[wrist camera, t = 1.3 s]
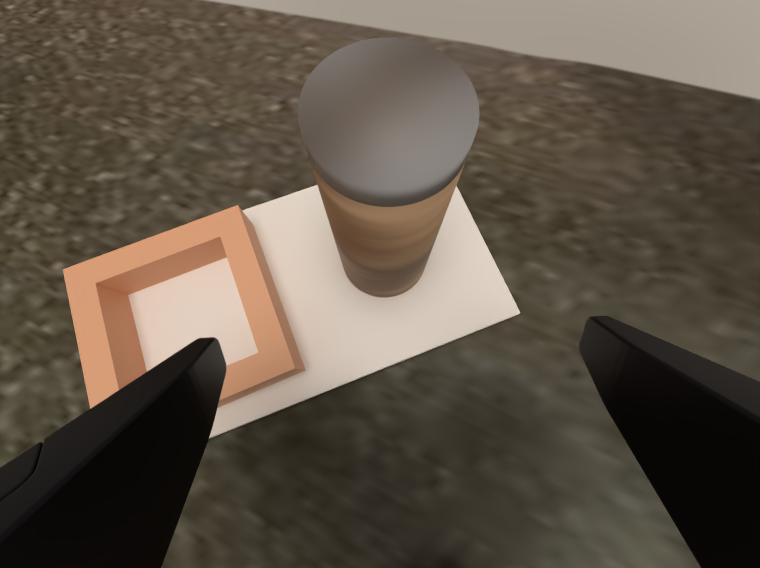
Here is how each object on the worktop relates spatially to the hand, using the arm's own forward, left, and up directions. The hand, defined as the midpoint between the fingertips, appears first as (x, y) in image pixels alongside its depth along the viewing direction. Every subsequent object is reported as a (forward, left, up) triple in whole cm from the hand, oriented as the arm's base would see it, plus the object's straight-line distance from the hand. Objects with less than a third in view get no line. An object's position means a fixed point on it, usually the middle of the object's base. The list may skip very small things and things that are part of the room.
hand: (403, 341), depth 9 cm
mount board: (+7, 0, -13) cm, 14 cm away
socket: (+10, +5, -11) cm, 16 cm away
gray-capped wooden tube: (+4, -5, -11) cm, 13 cm away
